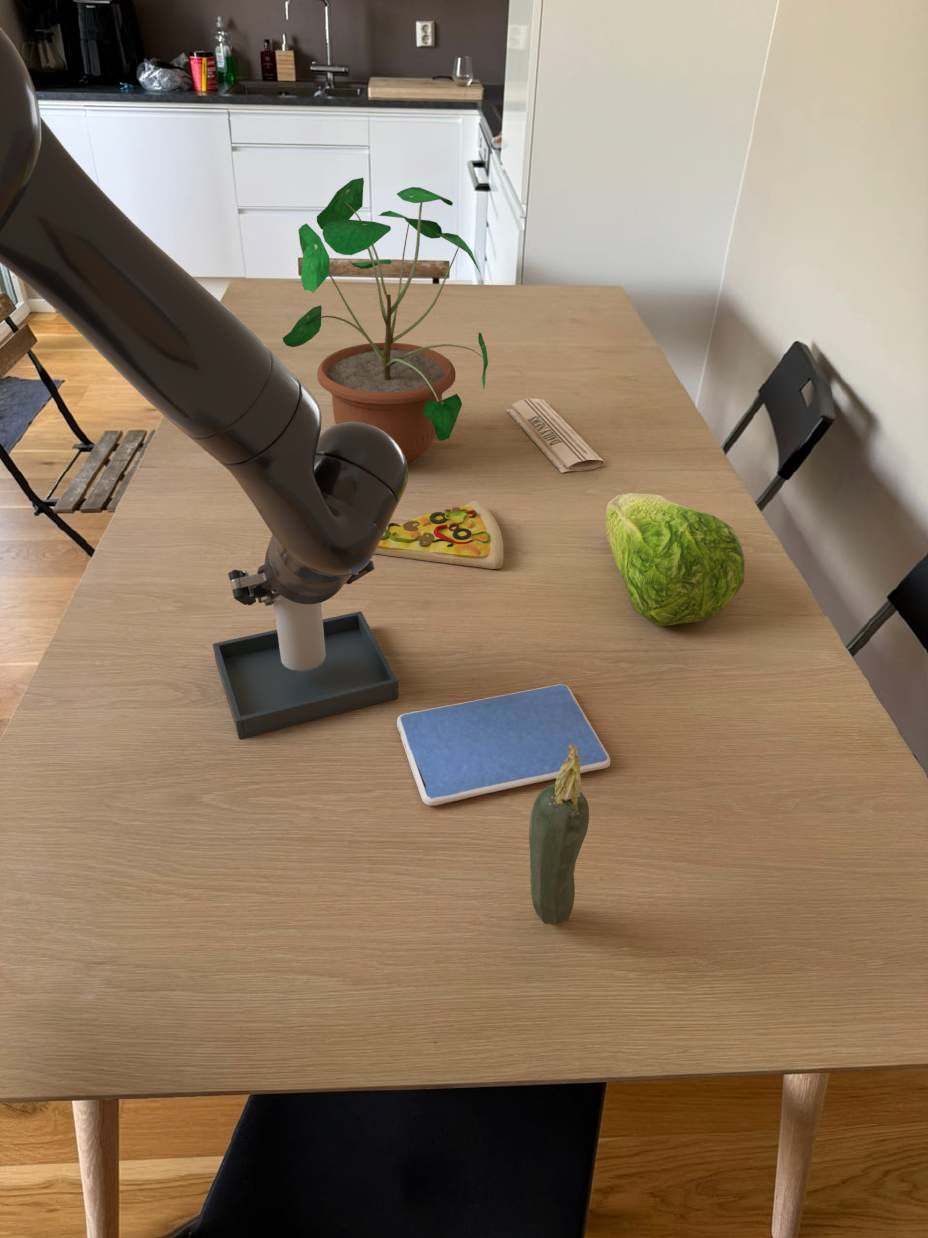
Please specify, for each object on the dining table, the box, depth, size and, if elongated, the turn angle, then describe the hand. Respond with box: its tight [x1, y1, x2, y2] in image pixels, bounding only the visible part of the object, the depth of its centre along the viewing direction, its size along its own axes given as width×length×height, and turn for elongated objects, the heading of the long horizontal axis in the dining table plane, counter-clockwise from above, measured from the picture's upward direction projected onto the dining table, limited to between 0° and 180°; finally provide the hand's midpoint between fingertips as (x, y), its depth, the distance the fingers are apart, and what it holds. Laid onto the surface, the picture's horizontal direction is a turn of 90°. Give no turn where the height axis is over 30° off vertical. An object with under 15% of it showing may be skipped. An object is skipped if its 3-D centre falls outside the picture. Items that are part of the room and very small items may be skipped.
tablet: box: [396, 683, 611, 807], centre depth 90 cm, size 19×13×1 cm, turn 107°
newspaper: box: [506, 398, 605, 474], centre depth 146 cm, size 24×7×2 cm, turn 19°
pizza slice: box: [374, 500, 504, 570], centre depth 119 cm, size 16×21×3 cm
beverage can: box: [273, 598, 326, 673], centre depth 93 cm, size 5×5×12 cm
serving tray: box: [212, 610, 400, 740], centre depth 97 cm, size 17×13×2 cm
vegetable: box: [528, 744, 590, 926], centre depth 69 cm, size 4×4×20 cm
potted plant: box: [282, 177, 489, 466], centre depth 131 cm, size 31×29×40 cm
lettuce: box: [604, 492, 745, 628], centre depth 112 cm, size 14×24×14 cm
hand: (292, 590), depth 93 cm, fingers closed on beverage can, 5 cm apart
